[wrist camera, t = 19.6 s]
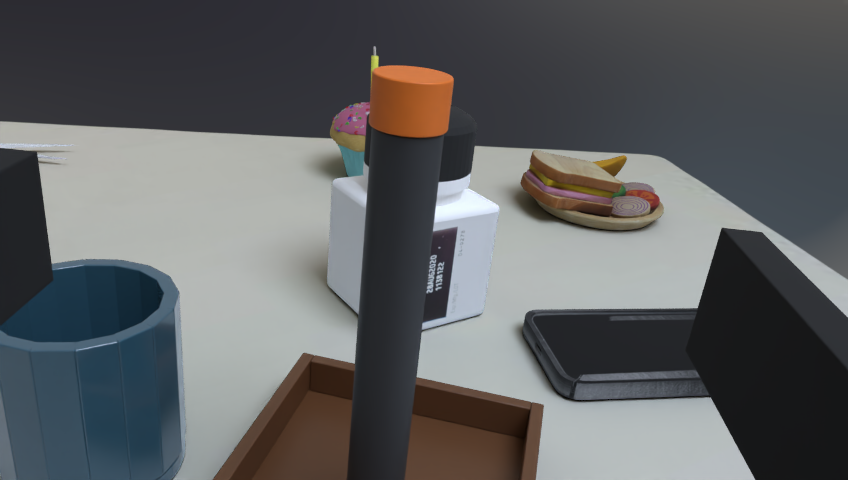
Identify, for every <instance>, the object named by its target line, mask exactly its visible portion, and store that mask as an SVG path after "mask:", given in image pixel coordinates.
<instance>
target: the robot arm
mask: <svg viewBox="0 0 848 480" xmlns="http://www.w3.org/2000/svg"><path fill="white" fill-rule="evenodd" d="M53 280H54V279H53V272H52V264H51V256H50V249H49V241H48V233H47V226H46V218H45V210H44V203H43V195H42V187H41V180H40V172H39V164H38V157H37V152H32V151H23V150H14V149H5V148H0V326H1V325H2V324H3V323H4V322H6V321H7V320H8V319H9V318H10V317H11V316H13V315H14V314H15V313H16V312H17V311H18V310H19V309H21V308H22V307H23V306H24V305H25V304H26V303H28V302H29V301H30V300H31V299H32V298H33V297H35V296H36V295H37V294H38V293H39V292H40V291H41V290H43V289H44V288H45V287H46V286H47V285H48V284H50V283H51V282H52V281H53ZM685 350H686V352H687V354H688V356H689V358H690V360H691V362H692V363H693V365H694V367H695V369H696V371H697V373H698V374H699V376H700V378H701V380H702V382H703V384H704V386H705V387H706V389H707V391H708V393H709V395H710V397H711V399H712V400H713V402H714V404H715V406H716V408H717V410H718V411H719V413H720V415H721V417H722V419H723V421H724V423H725V424H726V426H727V428H728V430H729V432H730V434H731V435H732V437H733V439H734V441H735V443H736V445H737V447H738V448H739V450H740V452H741V454H742V456H743V458H744V459H745V461H746V463H747V465H748V467H749V469H750V471H751V472H752V474H753V476H754V478H755V480H848V317H847V316H846V315H845V314H844V313H843V312H841V311H840V310H839V309H838V308H837V307H836V306H835V305H834V304H833V303H832V302H831V301H830V300H829V299H828V298H827V297H826V296H825V295H824V294H823V293H822V292H821V291H820V290H819V289H818V288H817V287H816V286H815V285H814V284H813V283H812V282H811V281H810V280H809V279H808V278H807V277H806V276H805V275H804V274H803V273H802V272H801V271H800V270H799V269H798V268H797V267H796V266H795V265H794V264H793V263H792V262H791V261H790V260H789V259H788V258H787V257H786V256H785V255H784V254H783V253H782V252H781V251H780V250H779V249H778V248H777V247H776V246H775V245H774V244H773V243H772V242H771V241H770V240H769V239H768V238H767V237H766V236H765V235H764V234H763V233H762V232H755V231H746V230H737V229H728V228H722V229H721V232H720V236H719V239H718V242H717V246H716V249H715V252H714V256H713V259H712V262H711V266H710V269H709V272H708V276H707V279H706V282H705V286H704V289H703V292H702V296H701V299H700V302H699V306H698V309H697V312H696V316H695V319H694V322H693V326H692V329H691V332H690V336H689V339H688V342H687V346H686V349H685Z"/></svg>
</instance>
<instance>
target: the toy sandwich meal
mask: <svg viewBox="0 0 848 480" xmlns="http://www.w3.org/2000/svg"><path fill="white" fill-rule="evenodd" d="M626 160H627V157H626V156H624V155H623V156H619V157H616V158H612V159H608V160H602V161H597V162H590V161H585V160H580V159H575V158H570V157H565V156H560V155H555V154H550V153H546V152H542V151H538V150H534V151H533V153H532V156H531V159H530V163H531V164H530V167H529V168H530V169H529V170H527V172H525V173H524V174H523V177H522V180H521V186H522V187H523V189H524V190H525V191H526V192H527V193H529V194H530V195H531V196H532V197H534V198H535V199H536V201H537V202H538V204H539V205H540V206H541V207H542V208H543V209H544V210H546V211H547V212H549V213H550V214H552V215H554V216H556V217H558V218H561V219H563V220H566V221H569V222H572V223H575V224H579V225H583V226H587V227H592V228H599V229H606V230H631V229H638V228H642V227H644V226H646V225H648V224H650V223H651V222H652V221H655V220H657V219H658V218H659V217H661V216H662V214H663V213H664V207H663V205H662V203H661V202H660V199H659V197H658V196H657V195H656V194H655V190H654V188H653V187H651V186H650V185H648V184H644V183H636V182H633V183H624V182H620V181H619V180H617V179H616V178H615V177H614V176H615V175H617V173H618V172H619V171H620V170H621V168H622V167H623V166H624V164H625V162H626Z"/></svg>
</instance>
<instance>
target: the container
mask: <svg viewBox="0 0 848 480" xmlns="http://www.w3.org/2000/svg"><path fill="white" fill-rule="evenodd" d="M371 130H372V127H371V126H370V124H369V113H368V114H367V121H366V136H365V151H364V165H363V175H361V176H353V177H344V178H336V179H335V180H334V181H333V182H332V192H331V212H330V232H329V253H328V273H327V284H328V286H329V287H330V288H331V289H332V290H333V291H334V292H335V293H336V294H337V295H338V296H339V297H340V298H342V299H343V300H344V301H345V302H346V303H347V304H348V305H349V306H350V307H351V308H352V309H353V310H354V311H355V312H356V313H357V314H358V315H359V300H360V286H361V272H362V258H363V244H364V230H365V215H366V201H367V187H368V173H369V159H370V145H371ZM476 131H477V124H476V123H475V121H474V119H473V118H472V117H471V116H470V115H469V114H467V113H465V112H464V111H462V110H461V109H459V108H457V107H455V106H452V105H451V108H450V117H449V125H448V131H447V132H446V133H445V134H444V140H443V149H442V157H441V166H440V175H439V184H438V192H437V201H436V210H435V219H434V227H433V236H432V245H431V254H430V262H429V271H428V280H427V289H426V297H425V306H424V315H423V324H422V330H424V329H428V328H432V327H435V326H439V325H443V324H446V323H450V322H454V321H458V320H461V319H465V318H469V317H472V316H476V315H479V314H481V313H483V311H484V306H485V299H486V293H487V286H488V280H489V274H490V267H491V261H492V254H493V248H494V241H495V235H496V228H497V222H498V216H499V207H498V205H497V204H495V203H493V202H492V201H490V200H488V199H486V198H484V197H483V196H481V195H479V194H477V193H475V192H474V191H472V190H470V189H468V188H467V187H468V186H469V184H470V176H471V169H472V161H473V154H474V147H475V139H476Z"/></svg>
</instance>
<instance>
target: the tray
mask: <svg viewBox="0 0 848 480" xmlns="http://www.w3.org/2000/svg"><path fill="white" fill-rule="evenodd" d="M354 371H355V364H353V363H348V362H344V361H339V360H335V359H330V358H325V357H321V356H316V355H315V356H314V355H312V354H307V353H303V354H302V356H301V357H300V358H299V360H298V361H297V363H296V364H295V365H294V367H293V368H292V370H291V371H290V372H289V374H288V375H287V377H286V378H285V379H284V381H283V382H282V384H281V385H280V386H279V388H278V389H277V391H276V392H275V393H274V395H273V396H272V398H271V399H270V400H269V402H268V403H267V405H266V406H265V407H264V409H263V410H262V412H261V413H260V414H259V416H258V417H257V419H256V420H255V421H254V423H253V424H252V426H251V427H250V428H249V430H248V431H247V433H246V434H245V435H244V437H243V438H242V440H241V441H240V442H239V444H238V445H237V447H236V448H235V449H234V451H233V452H232V454H231V455H230V456H229V458H228V459H227V461H226V462H225V463H224V465H223V466H222V468H221V469H220V470H219V472H218V473H217V474H216V476H215V477H214V479H213V480H347V470H348V456H349V442H350V428H351V414H352V399H353V385H354ZM543 408H544V406H543V405H542V404H538V403H531V402H529V401H524V400H519V399H515V398H510V397H506V396H501V395H496V394H492V393H487V392H482V391H478V390H473V389H469V388H464V387H459V386H455V385H450V384H445V383H441V382H436V381H432V380H427V379H422V378H418V377H416V385H415V394H414V402H413V411H412V420H411V429H410V437H409V446H408V455H407V464H406V472H405V480H536V472H537V463H538V454H539V445H540V436H541V426H542V417H543Z"/></svg>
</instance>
